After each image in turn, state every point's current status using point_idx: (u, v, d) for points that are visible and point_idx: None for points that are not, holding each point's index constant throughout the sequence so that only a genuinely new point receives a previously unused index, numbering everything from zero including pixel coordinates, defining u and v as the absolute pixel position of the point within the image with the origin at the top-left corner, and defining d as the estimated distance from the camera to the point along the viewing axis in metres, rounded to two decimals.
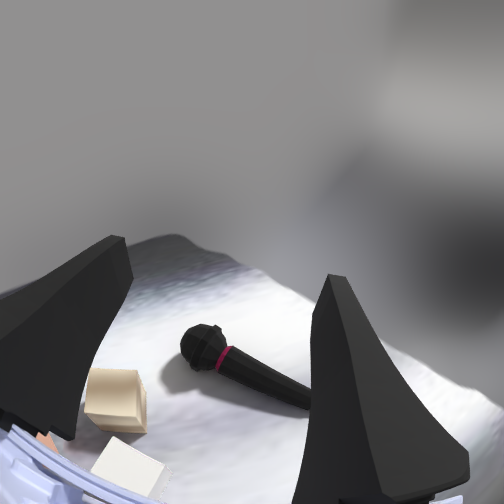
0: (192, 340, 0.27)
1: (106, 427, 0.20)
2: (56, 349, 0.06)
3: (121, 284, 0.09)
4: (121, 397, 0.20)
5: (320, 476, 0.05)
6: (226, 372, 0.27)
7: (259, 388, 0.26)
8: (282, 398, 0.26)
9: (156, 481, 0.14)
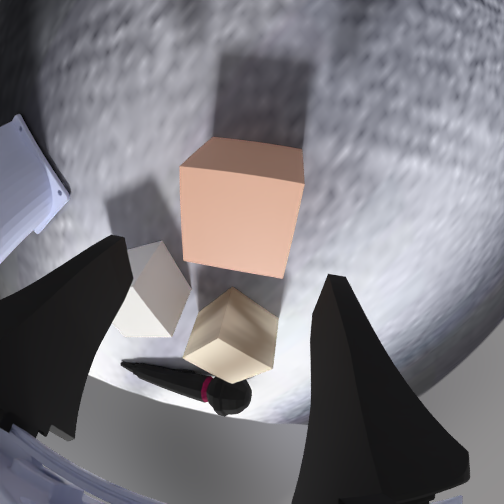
0: (228, 406, 0.26)
1: (222, 301, 0.21)
2: (56, 349, 0.06)
3: (121, 284, 0.09)
4: (211, 364, 0.20)
5: (319, 476, 0.05)
6: (195, 384, 0.29)
7: (170, 377, 0.30)
8: (154, 372, 0.31)
9: None
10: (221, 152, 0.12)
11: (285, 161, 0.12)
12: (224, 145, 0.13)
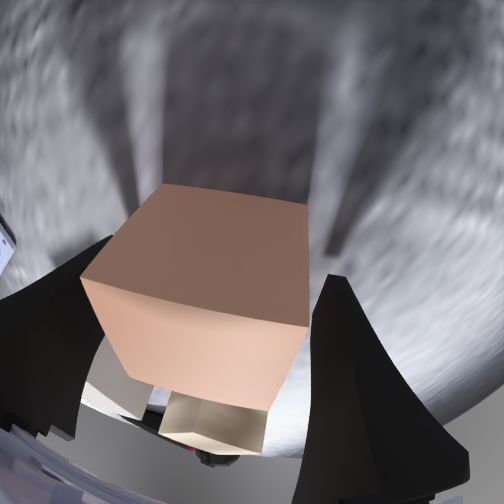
0: (216, 461, 0.21)
1: None
2: (56, 349, 0.06)
3: None
4: (190, 443, 0.15)
5: (320, 475, 0.05)
6: None
7: (154, 423, 0.25)
8: None
9: None
10: (161, 230, 0.07)
11: (276, 247, 0.07)
12: (174, 206, 0.08)
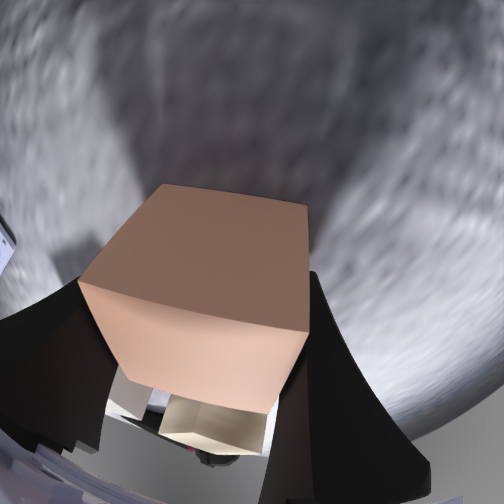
0: (216, 461, 0.21)
1: None
2: (83, 362, 0.06)
3: None
4: (190, 443, 0.15)
5: (277, 474, 0.05)
6: None
7: (154, 423, 0.25)
8: None
9: None
10: (160, 232, 0.07)
11: (275, 250, 0.07)
12: (172, 208, 0.08)
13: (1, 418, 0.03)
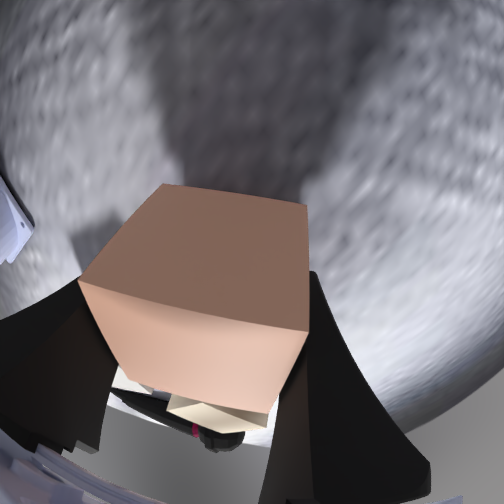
0: (220, 445, 0.23)
1: None
2: (82, 362, 0.06)
3: None
4: (197, 419, 0.16)
5: (277, 474, 0.05)
6: (186, 420, 0.25)
7: (160, 409, 0.27)
8: (143, 403, 0.28)
9: None
10: (159, 232, 0.07)
11: (275, 249, 0.07)
12: (172, 208, 0.08)
13: (1, 418, 0.03)
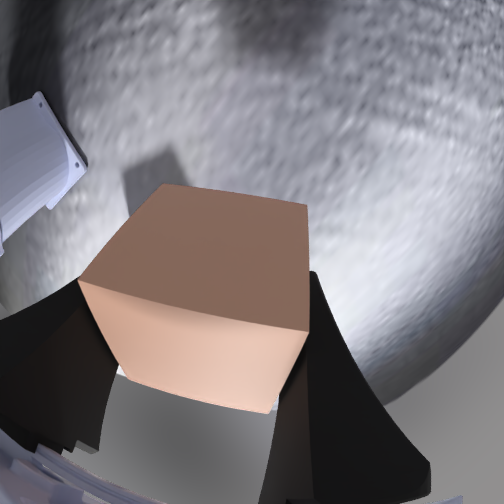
0: None
1: None
2: (83, 362, 0.06)
3: None
4: None
5: (277, 474, 0.05)
6: None
7: None
8: None
9: None
10: (160, 232, 0.07)
11: (275, 249, 0.07)
12: (172, 208, 0.08)
13: (1, 418, 0.03)
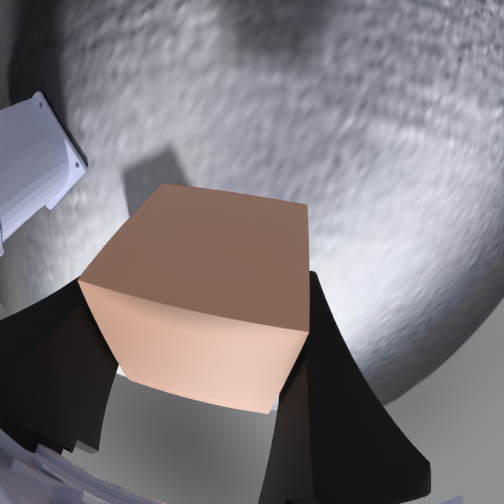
0: None
1: None
2: (83, 362, 0.06)
3: None
4: None
5: (277, 474, 0.05)
6: None
7: None
8: None
9: None
10: (160, 232, 0.07)
11: (275, 249, 0.07)
12: (172, 208, 0.08)
13: (1, 418, 0.03)
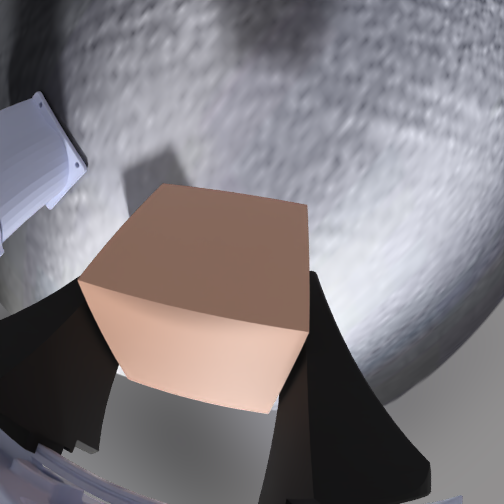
0: None
1: None
2: (83, 362, 0.06)
3: None
4: None
5: (277, 474, 0.05)
6: None
7: None
8: None
9: None
10: (160, 232, 0.07)
11: (275, 249, 0.07)
12: (172, 208, 0.08)
13: (1, 418, 0.03)
